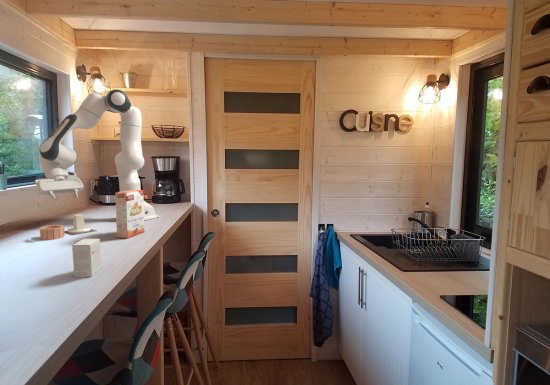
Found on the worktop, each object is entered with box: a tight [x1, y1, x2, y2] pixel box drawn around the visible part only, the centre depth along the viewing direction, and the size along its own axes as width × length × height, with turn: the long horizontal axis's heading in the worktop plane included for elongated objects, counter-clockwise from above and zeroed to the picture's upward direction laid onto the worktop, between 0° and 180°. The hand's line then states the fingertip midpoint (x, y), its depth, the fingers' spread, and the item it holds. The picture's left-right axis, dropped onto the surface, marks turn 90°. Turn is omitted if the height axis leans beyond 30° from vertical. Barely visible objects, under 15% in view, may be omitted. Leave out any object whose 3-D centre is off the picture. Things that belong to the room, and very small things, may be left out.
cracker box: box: [115, 189, 145, 239], centre depth 167 cm, size 14×6×21 cm, turn 168°
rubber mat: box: [64, 228, 98, 236], centre depth 172 cm, size 12×12×1 cm
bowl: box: [39, 224, 66, 241], centre depth 160 cm, size 9×9×5 cm
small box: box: [71, 238, 102, 278], centre depth 116 cm, size 8×6×10 cm
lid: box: [66, 213, 92, 235], centre depth 172 cm, size 10×10×8 cm
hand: (66, 198), depth 178 cm, fingers open, 8 cm apart
